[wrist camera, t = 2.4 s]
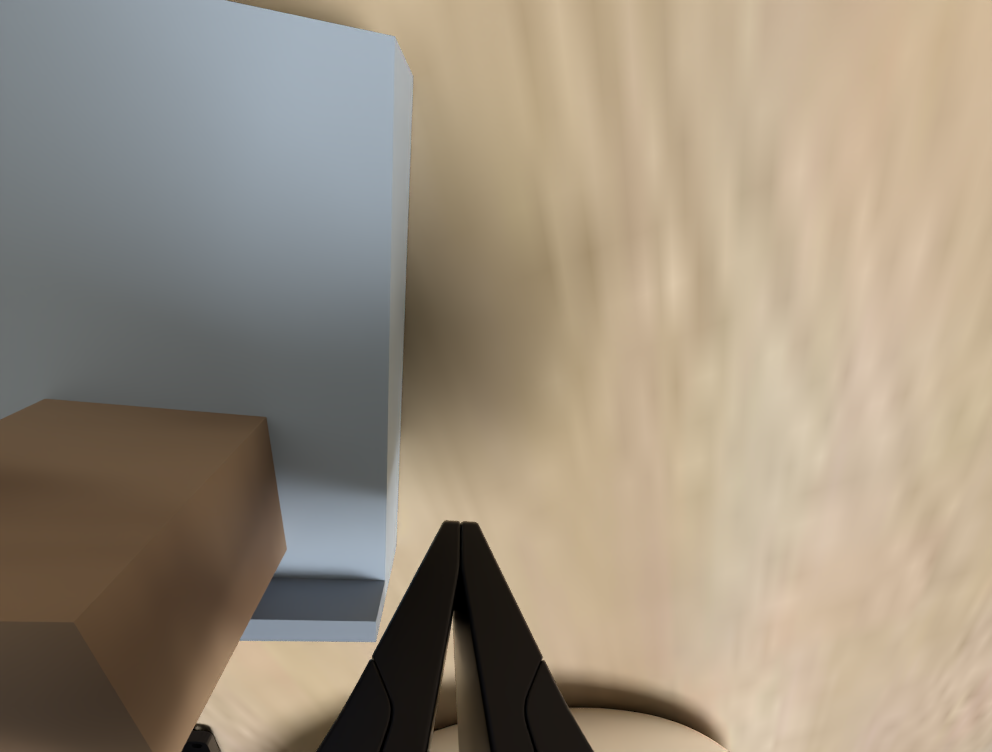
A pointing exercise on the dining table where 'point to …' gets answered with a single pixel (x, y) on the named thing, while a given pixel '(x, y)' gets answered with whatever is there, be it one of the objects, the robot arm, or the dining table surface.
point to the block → (126, 569)
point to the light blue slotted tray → (220, 255)
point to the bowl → (615, 733)
